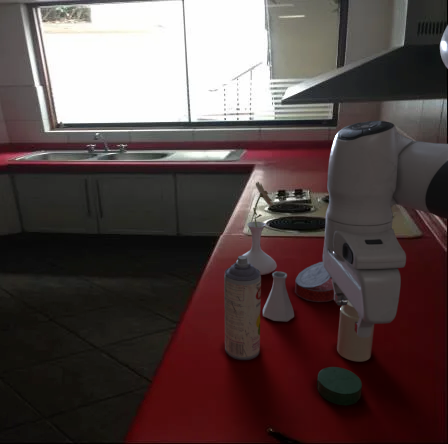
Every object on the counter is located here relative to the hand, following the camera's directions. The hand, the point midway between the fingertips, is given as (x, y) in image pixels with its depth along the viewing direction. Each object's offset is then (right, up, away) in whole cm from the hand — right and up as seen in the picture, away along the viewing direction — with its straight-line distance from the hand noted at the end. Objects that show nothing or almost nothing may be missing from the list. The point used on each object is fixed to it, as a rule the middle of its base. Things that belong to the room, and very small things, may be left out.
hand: (350, 318), depth 66 cm
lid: (0, -12, +5) cm, 13 cm away
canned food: (+9, -3, +38) cm, 39 cm away
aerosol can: (-14, -11, +18) cm, 25 cm away
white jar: (+7, -10, +15) cm, 20 cm away
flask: (-3, -6, +30) cm, 31 cm away
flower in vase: (-3, +1, +53) cm, 53 cm away
